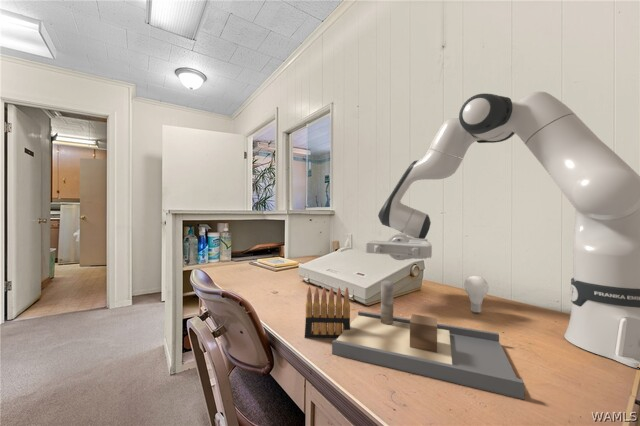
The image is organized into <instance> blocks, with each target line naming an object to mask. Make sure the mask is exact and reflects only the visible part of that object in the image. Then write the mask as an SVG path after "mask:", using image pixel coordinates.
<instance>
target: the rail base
mask: <svg viewBox="0 0 640 426" xmlns="http://www.w3.org/2000/svg"><path fill="white" fill-rule="evenodd" d="M357 315H359V316H365V317H371V318H377V319H381V313H373V312H369V311H364V310H363V311H361V310H359V311H358V312H357ZM410 320H411V318H406V317H399V316H394V315H393V321H395V322H401V323H407V324H410ZM437 329H443V330H449V334H450V345H451V356H452V365H451V364H446V363H442V362H437V361H432V360H428V359H423V358H418V357H414V356H409V355H404V354H399V353H395V352H390V351H385V350H381V349H376V348H371V347H367V346H362V345H357V344H352V343H348V342H343V341H338V340H337V339H333V340H332V341H331V354H332V355H335V356H339V357H344V358H348V359H351V360H356V361H361V362H364V363H369V364H373V365H377V366H382V367H385V368H389V369H394V370H399V371H402V372H406V373H411V374H415V375H419V376H424V377H426V378H427V377H428V378H433V379H437V380H440V381H444V382H449V383H453V384H457V385H462V386H466V387H469V388H473V389H479V390H482V391H486V392H492V393H496V394H499V395H504V396H508V397H512V398H516V399H520V400H525V382H524V379H521V378H518V376H517V375H516V373H515V371H514V368H513V367H512V364H511V363H510V361H509V359H508V357H507V355H506V353H505V350H504V349H503V346H502V345H501V343H500V334H499V333H498V332H494V331H488V330H483V329H482V330H480V329H475V328H470V327H469V328H468V327H462V326H455V325H451V324H443V323H439V322H437Z"/></svg>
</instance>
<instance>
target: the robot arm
mask: <svg viewBox="0 0 640 426" xmlns="http://www.w3.org/2000/svg"><path fill="white" fill-rule="evenodd" d="M514 135H516V136H517V137H518V138H519V139H520V140H521V141H522V142H523V144H524V145H525V146H526V148H528V150H529V152H531V153H532V155H533V156H534V157H535V158H536V159H537V161H538V163H540V165H541V166H542V167H543V168H544V169H545V171H546V172H547V173H548V175H549V176H550V177H551V179H552V180H553V182H554V183H555V184H556V186H557V187H558V188H559V190H560V191H561V192H562V193H563V195H564V196H565V197H566V198H567V200H568V201H569V202H570V203H571V205H572V206H573V207H574V209H575V211H574V214H575V215H574V232H573V233H574V234H573V244H572V247H573V249H572V254H573V258H572V260H573V262H572V263H573V264H572V265H573V270H572V271H573V272H572V273H573V275H572V276H573V277H571V279H570V287H569V291H570V292H569V295H570V296H569V297H570V301H571V303H572V304H571V311H570V317H569V323H568V325H567V328H566V331H565V333H564V335H563V336H564V338H565V339H566V341H568V342H569V343H571V344H572V345H574V346H577V347H578V348H581V350H582V349H583V350H585V351H588V352H590V353H593V354H597V355H598V356H602V357H605V358H608V359H611V360H614V361H617V362H618V363H621V364H624V365H626V366H629V367H631V368H634V369H638V368H637V367H638V365H639V364H640V174H638V173H637V171H635V170H634V169H633V168H632V166H630V165H629V164H627V162H626V161H625V160H623V159H622V158H621V157H620V156H619V155H618V154H617V153H616V152H615V151H614V150H613V149H612V148H610V146H608V145H607V144H606V143H605V142H604V141H602V140H601V139H600V138H599V137H598V136H597V135H596V134H595V133H594V132H593V131H592V129H591V128H589V126H588V125H586V123H584V122H583V120H582V119H580V117H579V116H578V115H577V114H576V113H575V112H574V111H573V110H572V109H571V108H570V107H568V105H566V104H564V103H563V101H561V100H560V99H558V98H557V97H555V96H553V95H552V94H551V93H548V92H546V91H534V92H532V93H529V94H526V95H525V96H523V97H522V98H520V99H519V100H517V101H512V100H511V98H510V97H508V96H502V95H499V94H498V95H497V94H493V93H478V94H475V95H472V96H471V97H469V98H468V99H467V100H466V101H465V102H464V103H463V104H462V106H461V107H460V110H459V114H458V117H451V118H448V119H446V120H445V121H443V123H442V124H441V125H440V127H439V129H438V130H437V131H436V134H435V135H434V137H433V139H432V141H431V142H430V146H429V148H428V149H427V151H426V153H425V154H424V155H423V157H421V158H420V159H418V160H414V161H412V162H411V163H410V165H409V166H408V167H407V169H406V170H405V172H404V173H403V175H402V176H401V178H400V179H399V181H397V184H396V185H395V187H394V188H393V190H392V191H391V193H390V194H389V196H388V198H387V199H386V201H385V202H384V203H383V204H382V206H381V207H380V209H379V212H378V215H377V217H378V219H379V222H380V223H381V225H382V226H386V227H388V228H392V229H394V230H395V231H398V232H399V233H396V234H394V235H392V236H390V237H389V238H388V240H368V241H365V242H364V243H365V244H364V252H365V253H366V254H376V255H389V256H390V258H392V259H394V260H396V261H405V260H412V259H416V260H417V259H418V260H419V259H421V260H423V259H424V260H425V259H431V258H432V256H433V254H432V251H433V250H432V249H433V248H432V246H433V245H432V243H431V242H429V241H428V238H426V237H427V235H428V233H429V231H430V228H431V219H430V215H429V214H428V213H426V212H423V211H421V210H417V209H415V208H413V207H411V206H408V205H406V204H403V203H402V202H401V200H402V198H403V197H404V196H405V194H406V192H407V191H408V190H409V188H410V186H411V185H412V184H413V183H414V182H416V181H421V180H434V181H435V180H442V179H443V180H444V179H447V178H449V177H451V176H453V175H454V174H455V173H456V172H457V170H458V169H459V167H460V166H461V163H462V162H463V160H464V158H465V155H466V153H467V151H468V150H469V147H470V146H471V145H472V144H474V143H475V142H476V143H478V144H484V143H485V144H489V143H491V144H492V143H493V144H494V143H500V142H501V143H502V142H504V141H508V140H509V139H510V138H512V137H513V136H514Z"/></svg>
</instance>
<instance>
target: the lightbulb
mask: <svg viewBox="0 0 640 426" xmlns="http://www.w3.org/2000/svg"><path fill="white" fill-rule="evenodd" d="M463 287H464V288H463V289H464V290H465V293H466V294H467V296H468V297H469V302H470V310H471V312H473V313H475V314H479V313H482V304H483V301H484V298H485V297H486V295H487V294H488V292H489V288H490V286H489V284H488V281H487V280H486V279H485V278H483V277H481V276H479V275H471V276H468V277H467V278H466V279H465V280H464V282H463Z"/></svg>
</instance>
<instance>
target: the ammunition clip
mask: <svg viewBox="0 0 640 426" xmlns="http://www.w3.org/2000/svg"><path fill="white" fill-rule="evenodd" d="M306 292H307V293H306V302H305V320H304V321H305V323H304V339H333V340H337V338H338V337H339V336H340V335H341V334H342V333H343V331H344V330H350V323H351V304H350V293H349V289H348V287H345V290H344V294H343V295H344V296H343V298H342V289H341V288H340V286H339V287H337V290H336V299H335V294H334V289H333V286H331V287H330V288H329V293H328V300H327V290H326V287H325V286H323V288H322V291H321V297H320V291H319V288H318V286H316V287H315V288H314V295H312V294H313V293H312V289H311V286H308V288H307V291H306ZM312 296H313V297H312ZM320 298H321V301H320ZM342 299H343V300H342ZM335 300H336V301H335ZM327 301H328V302H327ZM342 301H343V302H342Z"/></svg>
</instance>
